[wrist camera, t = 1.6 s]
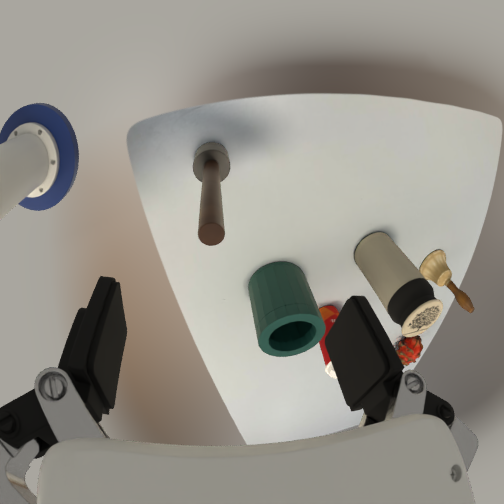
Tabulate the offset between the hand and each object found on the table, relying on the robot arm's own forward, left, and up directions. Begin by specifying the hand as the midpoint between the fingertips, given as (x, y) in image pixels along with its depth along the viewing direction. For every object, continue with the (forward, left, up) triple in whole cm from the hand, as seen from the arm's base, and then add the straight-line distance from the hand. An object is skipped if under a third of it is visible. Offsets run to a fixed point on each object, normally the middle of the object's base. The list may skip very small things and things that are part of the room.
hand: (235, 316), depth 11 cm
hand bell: (+50, -13, -29) cm, 59 cm away
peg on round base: (-1, -2, -28) cm, 29 cm away
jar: (+14, -22, -28) cm, 38 cm away
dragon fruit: (+61, -40, -29) cm, 78 cm away
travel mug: (+30, -12, -29) cm, 43 cm away
